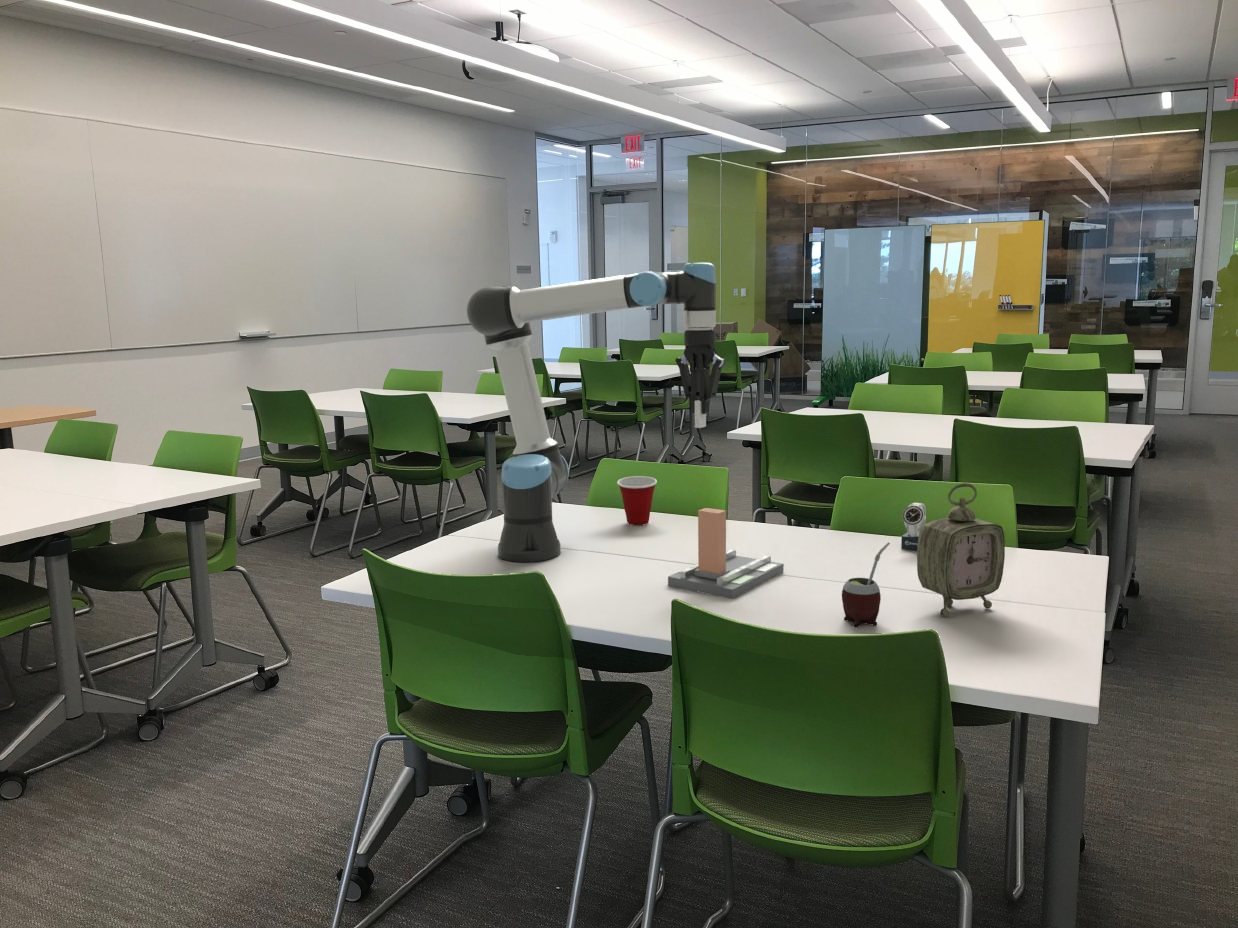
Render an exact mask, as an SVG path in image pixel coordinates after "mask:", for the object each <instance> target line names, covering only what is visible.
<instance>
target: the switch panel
mask: <svg viewBox="0 0 1238 928" xmlns="http://www.w3.org/2000/svg"><path fill="white" fill-rule="evenodd" d="M784 566H785V565H784V563H782V562H775V561H772V556H771V555H768V554H765V555H763V556H761V557H759V558H752V557H749V556H747V557H746V556H741V555H737V549H733V548H731V549H728V550H726V570H730V572H729V573H727V574H725V575H723V576H721V577H719V578H717V580H715V579H710V578H705V577H700V576H695V575H694V570H696V569H698V563H696V564H694V565H691V566H688V567H686V568H684V569H682V570H680V571H677V572H675V573H673V574H671V575H669V576H667V586H669V587H674V588H679V589H683V590H689V591H692V590H693V591H694V592H697V591H699V592H698V593H702V592H703V594H707V593H708V595H712V596H718V597H721V596H722V597H723V598H726V599H732V600H733V599H735V598H738V597H740V596H742V595H743V594H745V593H747V592H748V591H750V590H752V589H755V588H756V587H758V586H760V585H762V584H765V583H766V582H768V581H771V579H774V578H775V577H777V576H779V575H781V574H784V568H785V567H784ZM693 591H692V592H693ZM722 597H721V598H722Z"/></svg>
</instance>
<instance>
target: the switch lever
mask: <svg viewBox="0 0 1238 928" xmlns="http://www.w3.org/2000/svg"><path fill="white" fill-rule="evenodd" d="M697 521H698V522H697V525H698V526H697V532H698V533H697V536H698V537H697V538H698V539H697V540H698V541H697V542H698V543H697V545H698V547H697V548H698V551H697V553H698V557H697V559H698V562H697V564H698V569H696V570H694V575H695V576H700V577H705V578H710V579H715V580H717V578H719V577H721V576H723V575H725V574H727V573H729V572H730V570H726V551H727V510H724V509H717V508H709V507H705V508H704V507H703V508H702V509H698V511H697Z"/></svg>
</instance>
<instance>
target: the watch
mask: <svg viewBox="0 0 1238 928" xmlns="http://www.w3.org/2000/svg"><path fill="white" fill-rule="evenodd" d="M926 510H927V509H926V505H925V504H924V503H921V502H912V503H910V504H908V507H906V508H905V509H904V510H903V513H902V520H903V522H904V527H905V528H906V531H907V532H905V533H904V534H903V535H901V544H900V546H901V547H900V549H901V550H908V551H914V552H915V551H916V552H917V549H918V538H919V533H920V530H921V527H922V526H923V525H925V524H926V523H927V522H926V521H927V515H926V514H927V513H926Z"/></svg>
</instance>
